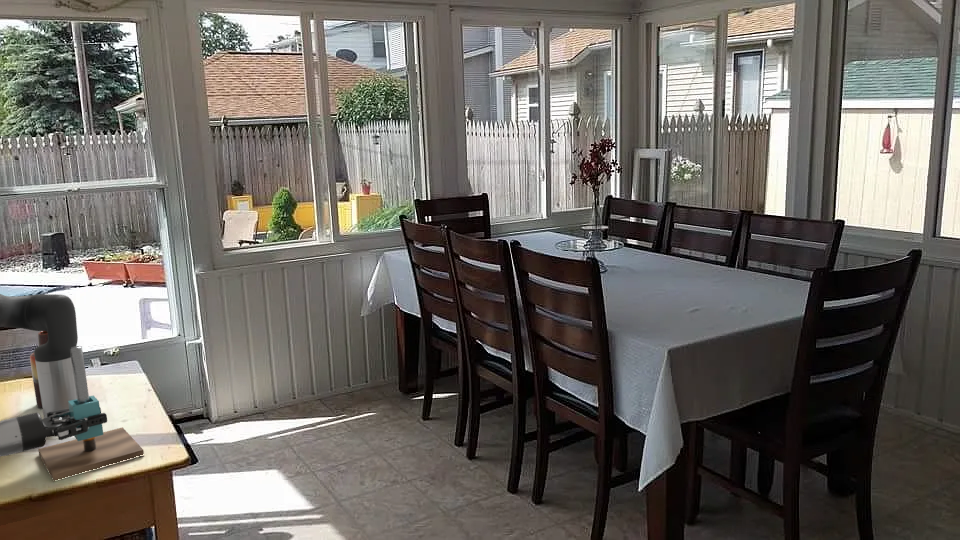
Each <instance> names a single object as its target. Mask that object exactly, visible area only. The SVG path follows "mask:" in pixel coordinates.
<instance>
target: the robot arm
mask: <svg viewBox="0 0 960 540" xmlns="http://www.w3.org/2000/svg"><path fill="white" fill-rule="evenodd" d="M4 327H5V328H6V327H7V328H16V329H21V330H22V329H23V330H27V331H28V330H29V331H34V332H41V331H47V332H48V342H47V343H45V344H43V345H40V346H39V345H38V346H37V347H36V348H35V349H34V351H33V352H34V356H35V362H36V369H37V375H38V381H39V388H40V394H41V401H42V407H43V409H42V413H43V418H42V415H41V414H40V413H39V412H32V413H28V414H25V415H20V416H19V415H18V416H16V417H11V418H5V419H3V420H0V457H5V456H11V455H15V454H18V453H22V452H26V451H31V450H34V449H40V448H44V446H45V445H46V443H47V442H46V441H47V440H46V439H47V438H52V437H56V438H58V440H59V441H63V440H65V439H69V438H72V437H74V436H75V435H78V434H81V433H85V432H87V431H88V428H89V427H91V426H95V425H99V424H102V425H103V424H106V423H108V416H107V413H106V412H102V409H101V407H100V413H101V414H97V415H93V416H89V417H83V418H79V419H76V418H74V417H71V414H70V411H69V404H68V401H71V400H75V399H77V396H76V389H75V382H74V376H73V369H72V362H71V355H70V348H71V347H75V346H78V338H79V337H78V325H77V314H76V308H75V305H74V302H73V301H72V299H71V298H70V297H69V296H68V295H65V294H54V293H53V294H49V293H48V294H44V293H43V294H31V295H30V294H29V295H18V296H17V295H15V296H11V295H8V296H7V295H3V294H1V293H0V328H4ZM79 425H81V427H77V426H79Z"/></svg>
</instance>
